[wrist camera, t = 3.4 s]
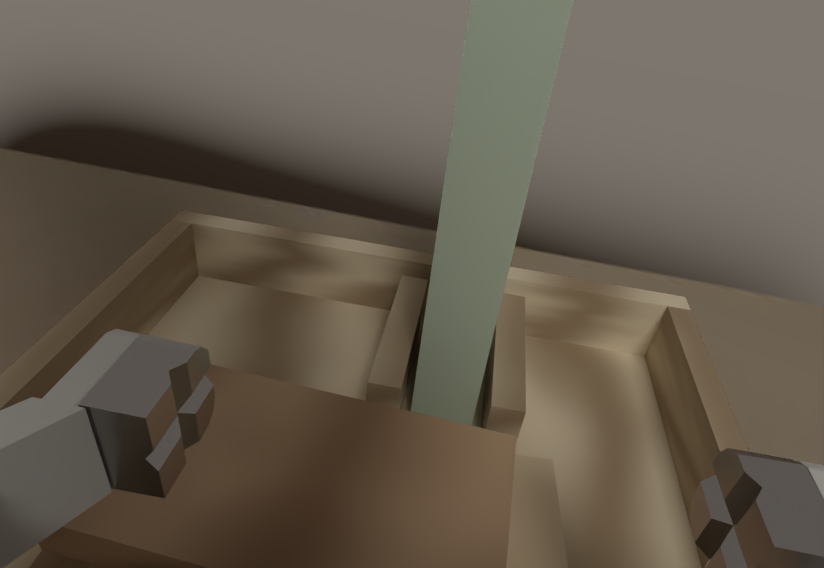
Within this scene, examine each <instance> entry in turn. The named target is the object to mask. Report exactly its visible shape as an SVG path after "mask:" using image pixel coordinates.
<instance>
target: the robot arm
mask: <svg viewBox="0 0 824 568" xmlns="http://www.w3.org/2000/svg"><path fill="white" fill-rule="evenodd" d="M210 366H211V362H210V357H209V352H208V350H207V349H205V348H203V347H201V346H196V345H191V344H187V343H182V342H178V341H173V340H169V339H164V338H160V337H155V336H150V335H146V334H145V335H143V334H138V333H134V332H129V331H125V330H120V329H114V330H112V331H109V332H107V333H105V334H104V335H103V336H102V337H101V338H100V339H99V340H98V341H97V342H96V344H95V345H94V346H93V347H92V348H91V349H90V350H89V351H88V352H87V353H86V354H85V355H84V356H83V357H82V358H81V359H80V360H79V361H78V362H77V363H76V364H75V365H74V366H73V367H72V368H71V369H70V370H69V371H68V372H67V373H66V374H65V375H64V376H63V377H62V378H61V379H60V380H59V381H58V382H57V383H56V384H55V385H54V387H53V388H52V389H51V390H50V391H49V392H48V393H47V394H46V395H45V396H44V397H43V398H42V399H41V398H35V397H31V398H29V399H26V400H24V401H22V402H19V403H17V404H15V405H12V406H10V407H8V408H5V409H3V410H1V411H0V568H4V567H5V566H7V565H8V564H10V563H11V562H12V561H14V560H15V559H17V558H18V557H20V556H21V555H22V554H24V553H25V552H27V551H28V550H30V549H31V548H32V547H34V546H35V545H37V544H38V543H40V542H41V541H43V540H44V539H45V538H47V537H48V536H50V535H51V534H53V533H54V532H55V531H57V530H58V529H60V528H61V527H63V526H64V525H65V524H67V523H68V522H70V521H71V520H73V519H74V518H75V517H77V516H78V515H80V514H81V513H83V512H84V511H86V510H87V509H88V508H90V507H91V506H93V505H94V504H96V503H97V502H98V501H100V500H101V499H103V498H104V497H106V496H107V495H108V494H110V493H111V492H112V489H117V490H122V491H127V492H133V493H138V494H144V495H149V496H155V497H160V498H166V496H167V494H168V493H169V491H170V489H171V488H172V486H173V484H174V483H175V481H176V480H177V478H178V476H179V475H180V473H181V471H182V470H183V468H184V466H185V465H186V458H185V453H184V450H185V449H187V448H188V447H190V446H192V445H193V444H195V443H197V442H199V441H200V440H201V438H202V436H203V434H204V433H205V431H206V429H207V427H208V425H209V422H210V419H211V416H212V413H213V410H214V401H215V392H214V385H213V384H212V383H211V382H210V380H209V379H208V378H207V377H206V376H205V374H206V372H207V371H208V369H209V368H210ZM712 464H713V467H714V470H715V473H716V475H714V476H712V477H710V478H707V479H705V480H703V481H701V482H700V483H699V485H698V487H697V489H696V490H695V492H694V494H693V496H692V502H691V508H690V523H691V530H692V534H693V538H694V542H695V544H696V545H697V546H698V547H699V548H700V549H701V550H702V552H703V553H704V554H705V555H706V556H707V557H708V558H709V560H708V562H707V564H706V566H705V567H704V568H824V465H819V464H813V463H808V462H802V461H794V460H791V459H786V458H780V457H775V456H770V455H764V454H759V453H753V452H748V451H742V450H737V449H731V448H726V449H725V450H723V451H721V452H719V454H718V455H717V457H716V458H715V460H714V461H713V463H712Z"/></svg>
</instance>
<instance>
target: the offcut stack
mask: <svg viewBox="0 0 824 568" xmlns="http://www.w3.org/2000/svg"><path fill="white" fill-rule="evenodd" d="M205 376H206V377H207V378H208V379H209V380H210V382H211V383H212V384H213V385H214V392H215V401H214V410H213V413H212V416H211V419H210V422H209V425H208V427H207V429H206V431H205V433H204V434H203V436H202V438H201V440H200V441H199V442H197V443H195V444H193V445H192V446H190V447H188V448H187V449H185V450H184V453H185V458H186V465H185V466H184V468H183V470H182V471H181V473H180V475H179V476H178V478H177V480H176V481H175V483H174V484H173V486H172V488H171V489H170V491H169V493H168V494H167V496H166V498H160V497H155V496H149V495H144V494H138V493H133V492H127V491H122V490H117V489H112V492H111V493H110V494H108V495H107V496H106V497H104V498H103V499H101V500H100V501H98V502H97V503H96V504H94V505H93V506H91V507H90V508H88V509H87V510H86V511H84V512H83V513H81V514H80V515H78V516H77V517H75V518H74V519H73V520H71V521H70V522H68V523H67V524H65V525H64V526H63V527H61V528H60V529H58V530H57V531H55V532H54V533H53V534H51V535H50V536H48V537H47V538H45V539H44V540H43V541H41V542H40V543H39V545H40V548H41V550H42V551H41V552H40V554H39V555H38V556H37V558H36V559H35V560H34V562H33V563H32V564H31V566H30V567H29V568H568V563H567V556H566V549H565V542H564V535H563V528H562V521H561V514H560V506H559V499H558V492H557V485H556V478H555V471H554V464H553V460H552V459H545V458H537V457H530V456H523V455H516V454H515V450H516V437H517V436H513V435H509V434H505V433H500V432H496V431H492V430H488V429H483V428H479V427H475V426H471V425H466V424H462V423H458V422H454V421H449V420H445V419H441V418H437V417H432V416H428V415H424V414H420V413H415V412H411V411H407V410H403V409H398V408H394V407H390V406H386V405H381V404H377V403H373V402H369V401H364V400H360V399H356V398H352V397H347V396H343V395H339V394H335V393H330V392H326V391H322V390H318V389H313V388H309V387H305V386H301V385H296V384H292V383H288V382H284V381H279V380H275V379H271V378H267V377H262V376H258V375H254V374H250V373H245V372H241V371H237V370H233V369H228V368H224V367H220V366H216V365H211V366H210V368H209V369H208V371H207V372H206V374H205Z"/></svg>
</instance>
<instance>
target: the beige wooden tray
mask: <svg viewBox="0 0 824 568" xmlns="http://www.w3.org/2000/svg"><path fill="white" fill-rule="evenodd" d="M433 255H434V254H432V253H427V252H421V251H415V250H409V249H404V248H398V247H392V246H386V245H380V244H375V243H369V242H363V241H357V240H351V239H346V238H340V237H334V236H328V235H322V234H317V233H311V232H305V231H299V230H293V229H288V228H282V227H276V226H270V225H264V224H259V223H253V222H247V221H241V220H235V219H230V218H224V217H218V216H212V215H207V214H201V213H195V212H189V211H183V210H182V211H180V212H179V213H178V214H177V215H176V216H175V217H174V218H173V219H172V220H170V221H169V222H168V223H167V224H166V225H165V226H164V227H163V228H162V229H161V230H159V231H158V232H157V233H156V234H155V235H154V236H153V237H152V238H151V239H149V240H148V241H147V242H146V243H145V244H144V245H143V246H142V247H141V248H140V249H138V250H137V251H136V252H135V253H134V254H133V255H132V256H131V257H130V258H128V259H127V260H126V261H125V262H124V263H123V264H122V265H121V266H120V267H119V268H117V269H116V270H115V271H114V272H113V273H112V274H111V275H110V276H109V277H107V278H106V279H105V280H104V281H103V282H102V283H101V284H100V285H99V286H98V287H96V288H95V289H94V290H93V291H92V292H91V293H90V294H89V295H88V296H86V297H85V298H84V299H83V300H82V301H81V302H80V303H79V304H78V305H77V306H75V307H74V308H73V309H72V310H71V311H70V312H69V313H68V314H67V315H65V316H64V317H63V318H62V319H61V320H60V321H59V322H58V323H57V324H56V325H54V326H53V327H52V328H51V329H50V330H49V331H48V332H47V333H46V334H44V335H43V336H42V337H41V338H40V339H39V340H38V341H37V342H36V343H35V344H33V345H32V346H31V347H30V348H29V349H28V350H27V351H26V352H25V353H23V354H22V355H21V356H20V357H19V358H18V359H17V360H16V361H15V362H14V363H12V364H11V365H10V366H9V367H8V368H7V369H6V370H5V371H4V372H2V373H1V374H0V411H1V410H3V409H5V408H8V407H10V406H12V405H15V404H17V403H19V402H22V401H24V400H26V399H29V398H31V397H35V398H41V399H42V398H43V397H44V396H45V395H46V394H47V393H48V392H49V391H50V390H51V389H52V388H53V387H54V385H55V384H56V383H57V382H58V381H59V380H60V379H61V378H62V377H63V376H64V375H65V374H66V373H67V372H68V371H69V370H70V369H71V368H72V367H73V366H74V365H75V364H76V363H77V362H78V361H79V360H80V359H81V358H82V357H83V356H84V355H85V354H86V353H87V352H88V351H89V350H90V349H91V348H92V347H93V346H94V345H95V344H96V342H97V341H98V340H99V339H100V338H101V337H102V336H103V335H104V334H105V333H107V332H109V331H112V330H114V329H120V330H125V331H129V332H134V333H138V334H143V335H145V334H146V335H150V336H155V337H160V338H164V339H169V340H173V341H178V342H182V343H187V344H191V345H196V346H201V347H203V348H205V349H207V350H208V352H209V357H210V362H211V365H216V366H220V367H224V368H228V369H233V370H237V371H241V372H245V373H250V374H254V375H258V376H262V377H267V378H271V379H275V380H279V381H284V382H288V383H292V384H296V385H301V386H305V387H309V388H313V389H318V390H322V391H326V392H330V393H335V394H339V395H343V396H347V397H352V398H356V399H360V400H364V401H369V402H373V403H377V404H381V405H386V406H390V407H394V408H398V409H403V410H407V411H411V406H412V399H413V392H414V385H415V378H416V371H417V365H418V358H419V351H420V344H421V337H422V330H423V324H424V317H425V310H426V303H427V296H428V289H429V283H430V276H431V269H432V262H433ZM472 426H475V427H479V428H483V429H488V430H492V431H496V432H500V433H505V434H509V435H513V436H517V437H516V450H515V454H516V455H523V456H530V457H537V458H545V459H552V460H553V464H554V471H555V478H556V485H557V492H558V499H559V506H560V514H561V521H562V528H563V535H564V542H565V549H566V556H567V563H568V568H704V567H705V566H706V564H707V562H708V560H709V558H708V557H707V556H706V555H705V554H704V553H703V552H702V550H701V549H700V548H699V547H698V546H697V545H696V544H695V542H694V538H693V534H692V530H691V523H690V508H691V502H692V496H693V494H694V492H695V490H696V489H697V487H698V485H699V483H700V482H701V481H703V480H705V479H707V478H710V477H712V476H714V475H716V473H715V470H714V467H713V464H712V463H713V461H714V460H715V458H716V457H717V455H718V454H719V452H721V451H723V450H725V449H726V448H731V449H737V450H742V451H748V452H749V450H748V447H747V445H746V443H745V440H744V438H743V435H742V433H741V430H740V428H739V426H738V423H737V421H736V418H735V416H734V414H733V411H732V409H731V406H730V404H729V401H728V399H727V397H726V394H725V392H724V389H723V387H722V385H721V382H720V380H719V377H718V375H717V373H716V370H715V368H714V365H713V363H712V360H711V358H710V356H709V353H708V351H707V348H706V346H705V344H704V341H703V339H702V336H701V334H700V331H699V329H698V327H697V324H696V322H695V319H694V317H693V315H692V312H691V310H690V307H689V305H688V302H687V300H686V298H685V297H682V296H676V295H670V294H664V293H658V292H653V291H647V290H641V289H635V288H629V287H624V286H618V285H612V284H606V283H601V282H595V281H589V280H583V279H577V278H572V277H566V276H560V275H554V274H548V273H543V272H537V271H531V270H525V269H519V268H514V267H510V268H509V272H508V276H507V280H506V284H505V289H504V293H503V297H502V301H501V305H500V309H499V314H498V318H497V322H496V326H495V330H494V334H493V339H492V343H491V347H490V351H489V355H488V359H487V364H486V368H485V372H484V376H483V380H482V384H481V389H480V393H479V397H478V401H477V405H476V409H475V413H474V418H473V422H472ZM41 551H42V550H41V548H40V545H39V543H38V544H37V545H35V546H34V547H32V548H31V549H30V550H28V551H27V552H25V553H24V554H22V555H21V556H20V557H18V558H17V559H15V560H14V561H12V562H11V563H10V564H8V565H7V566H5V567H4V568H29V567H30V566H31V564H32V563H33V562H34V560H35V559H36V558H37V556H38V555H39V554H40V552H41Z"/></svg>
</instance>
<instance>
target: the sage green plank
mask: <svg viewBox="0 0 824 568" xmlns="http://www.w3.org/2000/svg"><path fill="white" fill-rule="evenodd" d="M573 1H574V0H471V2H470V9H469V16H468V23H467V30H466V36H465V43H464V51H463V57H462V64H461V71H460V78H459V84H458V91H457V98H456V105H455V112H454V119H453V125H452V132H451V139H450V146H449V153H448V160H447V166H446V174H445V180H444V187H443V194H442V200H441V207H440V214H439V221H438V229H437V235H436V242H435V248H434V255H433V262H432V269H431V276H430V283H429V289H428V296H427V303H426V310H425V317H424V324H423V330H422V337H421V344H420V351H419V358H418V365H417V371H416V378H415V385H414V392H413V399H412V406H411V412H415V413H420V414H424V415H428V416H432V417H437V418H441V419H445V420H449V421H454V422H458V423H462V424H466V425H471V426H472V422H473V418H474V413H475V409H476V405H477V401H478V397H479V393H480V389H481V384H482V380H483V376H484V372H485V368H486V364H487V359H488V355H489V351H490V347H491V343H492V339H493V334H494V330H495V326H496V322H497V318H498V314H499V309H500V305H501V301H502V297H503V293H504V289H505V284H506V280H507V276H508V272H509V268H510V264H511V259H512V255H513V251H514V247H515V243H516V239H517V234H518V230H519V226H520V222H521V218H522V214H523V209H524V205H525V201H526V197H527V193H528V189H529V184H530V180H531V176H532V172H533V168H534V164H535V159H536V155H537V151H538V147H539V143H540V139H541V134H542V130H543V126H544V122H545V118H546V114H547V110H548V105H549V101H550V97H551V93H552V89H553V85H554V80H555V76H556V72H557V68H558V64H559V59H560V55H561V51H562V47H563V43H564V38H565V35H566V30H567V26H568V22H569V18H570V14H571V9H572V5H573Z"/></svg>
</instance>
